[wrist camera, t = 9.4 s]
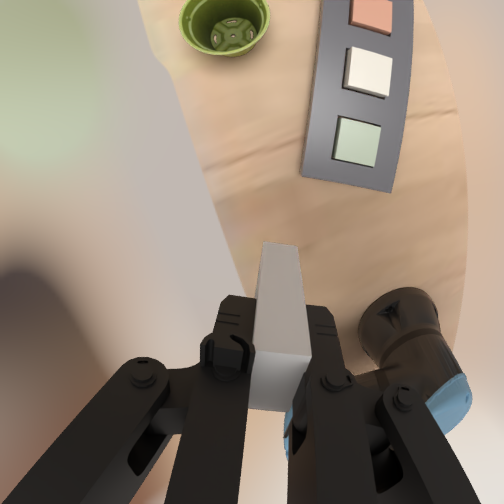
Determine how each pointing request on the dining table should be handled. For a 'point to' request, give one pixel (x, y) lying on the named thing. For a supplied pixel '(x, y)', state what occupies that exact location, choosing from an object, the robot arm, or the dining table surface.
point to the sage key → (356, 142)
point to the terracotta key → (371, 15)
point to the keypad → (357, 96)
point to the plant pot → (223, 25)
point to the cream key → (367, 72)
